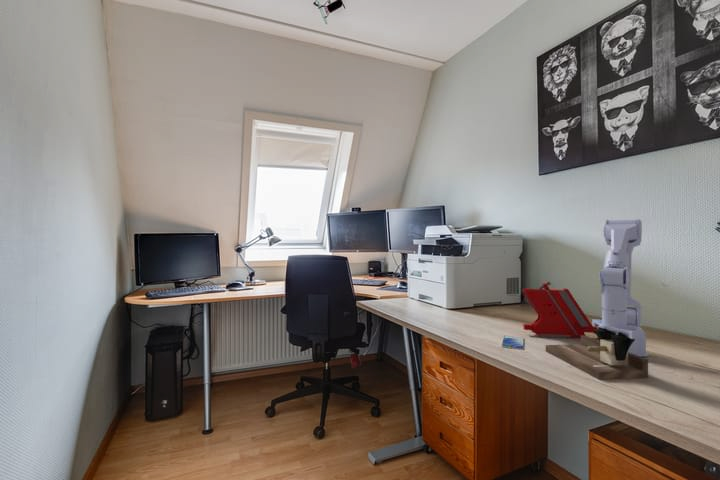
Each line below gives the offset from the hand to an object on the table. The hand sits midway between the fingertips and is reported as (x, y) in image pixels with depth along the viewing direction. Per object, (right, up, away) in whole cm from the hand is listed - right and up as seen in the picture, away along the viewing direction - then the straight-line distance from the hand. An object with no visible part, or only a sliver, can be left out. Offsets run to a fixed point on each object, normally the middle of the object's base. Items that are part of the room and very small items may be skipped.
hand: (613, 357), depth 100 cm
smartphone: (-16, -5, +28) cm, 33 cm away
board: (-2, -4, +7) cm, 8 cm away
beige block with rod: (-2, -1, 0) cm, 3 cm away
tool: (+7, -4, +36) cm, 37 cm away
